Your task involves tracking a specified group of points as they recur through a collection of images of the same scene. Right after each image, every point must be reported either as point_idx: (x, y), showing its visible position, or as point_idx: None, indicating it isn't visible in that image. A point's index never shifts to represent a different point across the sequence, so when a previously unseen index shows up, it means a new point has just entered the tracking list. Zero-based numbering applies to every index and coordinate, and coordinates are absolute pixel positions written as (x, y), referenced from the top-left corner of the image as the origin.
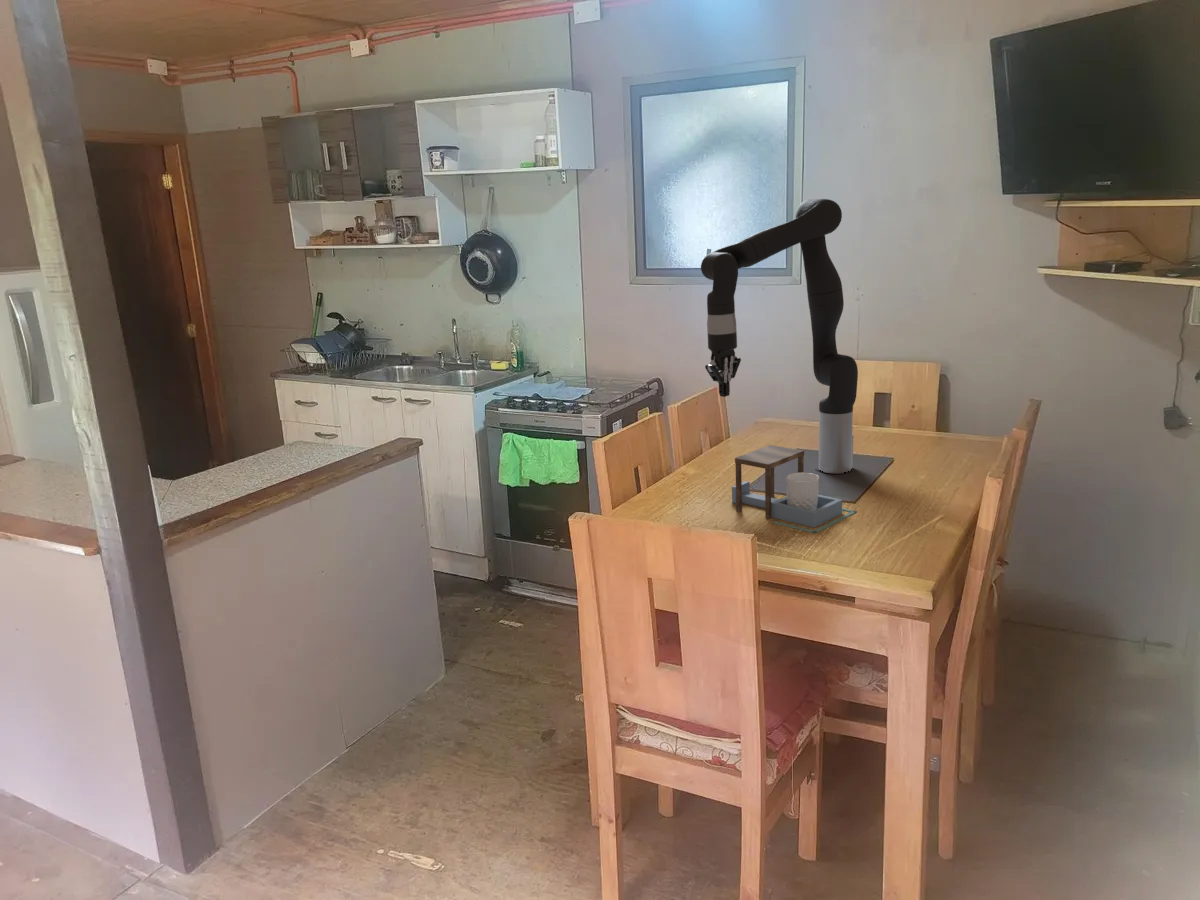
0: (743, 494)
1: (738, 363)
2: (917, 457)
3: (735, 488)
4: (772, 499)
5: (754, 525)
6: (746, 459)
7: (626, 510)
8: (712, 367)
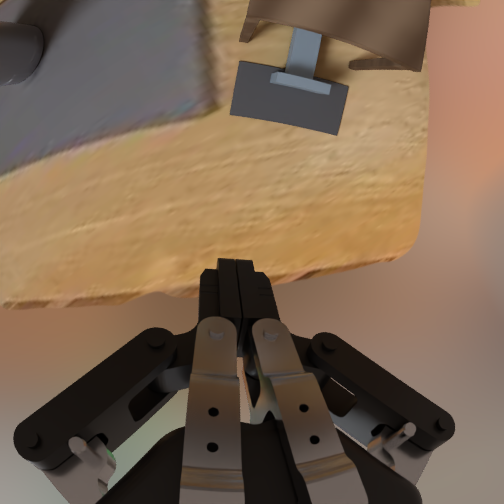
0: (306, 74)
1: (55, 417)
2: None
3: (330, 85)
4: None
5: None
6: (421, 40)
7: (395, 239)
8: (452, 422)
